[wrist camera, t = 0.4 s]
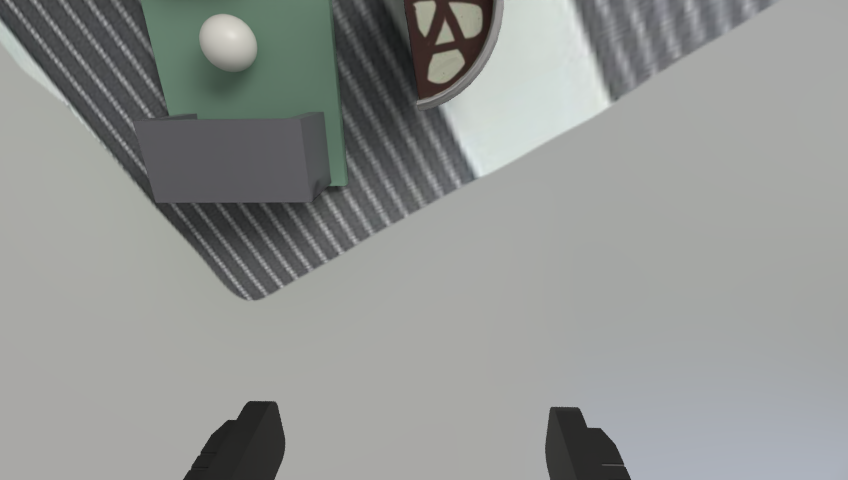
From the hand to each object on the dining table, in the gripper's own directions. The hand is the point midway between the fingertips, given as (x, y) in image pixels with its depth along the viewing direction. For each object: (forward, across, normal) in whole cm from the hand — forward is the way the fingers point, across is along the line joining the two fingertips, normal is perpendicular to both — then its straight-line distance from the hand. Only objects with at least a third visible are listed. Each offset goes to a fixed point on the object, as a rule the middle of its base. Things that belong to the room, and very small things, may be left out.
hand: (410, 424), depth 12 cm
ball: (+25, +15, -12) cm, 31 cm away
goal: (+28, +16, -3) cm, 32 cm away
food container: (+28, -2, -13) cm, 31 cm away
